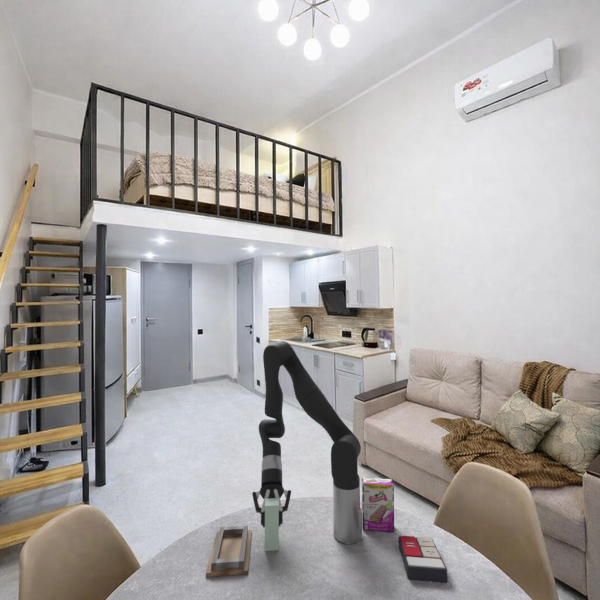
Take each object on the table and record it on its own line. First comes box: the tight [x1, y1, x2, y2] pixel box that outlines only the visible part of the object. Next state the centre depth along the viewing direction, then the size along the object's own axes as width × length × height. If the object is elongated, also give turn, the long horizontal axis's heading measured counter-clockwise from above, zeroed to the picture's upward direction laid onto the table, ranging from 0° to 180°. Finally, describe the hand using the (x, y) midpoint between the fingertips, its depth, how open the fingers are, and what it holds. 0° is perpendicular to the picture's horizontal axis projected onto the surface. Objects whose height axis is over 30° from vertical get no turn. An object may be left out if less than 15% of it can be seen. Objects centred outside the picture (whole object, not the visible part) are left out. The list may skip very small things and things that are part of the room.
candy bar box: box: [361, 477, 395, 533], centre depth 118 cm, size 11×5×16 cm, turn 84°
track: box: [205, 525, 253, 578], centre depth 105 cm, size 12×19×3 cm, turn 5°
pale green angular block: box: [264, 498, 280, 552], centre depth 108 cm, size 4×4×14 cm
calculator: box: [398, 535, 449, 584], centre depth 100 cm, size 11×4×15 cm
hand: (271, 526), depth 107 cm, fingers closed on pale green angular block, 4 cm apart
